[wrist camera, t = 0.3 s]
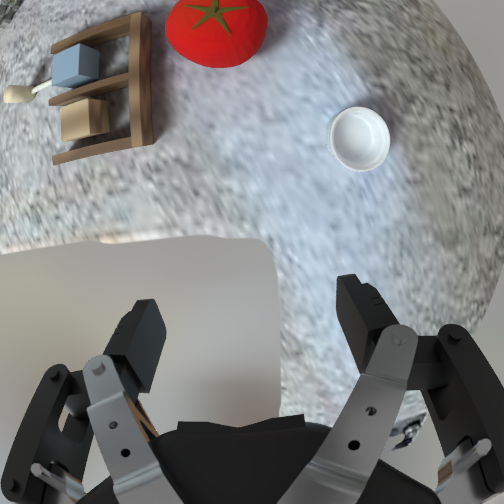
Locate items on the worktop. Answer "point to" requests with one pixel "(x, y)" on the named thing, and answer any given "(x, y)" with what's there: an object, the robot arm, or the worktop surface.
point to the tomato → (216, 30)
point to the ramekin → (358, 138)
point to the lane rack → (115, 82)
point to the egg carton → (4, 19)
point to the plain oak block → (84, 119)
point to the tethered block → (62, 73)
